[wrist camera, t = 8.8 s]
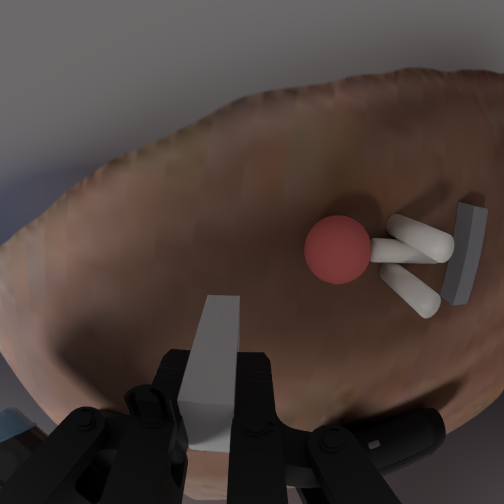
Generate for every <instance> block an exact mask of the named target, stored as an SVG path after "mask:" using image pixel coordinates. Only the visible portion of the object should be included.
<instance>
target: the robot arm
mask: <svg viewBox="0 0 504 504" xmlns="http://www.w3.org/2000/svg"><path fill="white" fill-rule="evenodd" d="M239 327H240V296H226V295H207V299H206V302H205V305H204V308H203V312H202V315H201V318H200V322H199V325H198V328H197V332H196V335H195V339H194V342H193V345H192V349H191V350H179V349H171V350H170V351H169V352H167V353H166V354H165V355H164V356H163V358H162V360H161V363H160V365H159V368H158V370H157V373H156V375H155V378H154V380H153V383H152V385H140V386H136V387H134V388H132V389H130V390H129V391H128V392H127V393H126V394H125V396H124V399H125V402H126V404H127V407H128V409H129V411H130V414H131V415H128V416H125V415H122V414H119V413H115V412H111V411H99V410H98V409H96V408H93V407H80V408H77V409H75V410H74V411H72V412H71V413H70V414H69V415H68V416H67V417H66V418H65V419H64V420H63V421H62V422H61V423H60V424H59V425H58V426H57V427H56V428H55V430H54V431H53V432H52V433H51V434H50V435H48V434H46V433H45V432H44V431H43V430H41V429H40V428H39V427H38V426H37V424H36V423H35V422H32V421H31V420H30V419H29V418H28V417H27V416H25V415H24V414H23V413H22V412H21V411H20V410H19V409H17V408H15V407H7V408H5V409H3V410H2V411H1V412H0V504H182V498H183V491H184V485H185V478H186V472H187V466H188V458H187V455H186V452H187V446H188V444H189V448H190V449H192V450H202V451H214V452H229V468H228V488H227V504H288V497H287V487H286V485H288V486H294V487H295V488H296V490H297V492H298V494H299V496H300V499H301V501H302V503H303V504H402V503H401V502H400V501H399V499H398V498H397V497H396V495H395V494H394V492H393V491H392V490H391V488H390V487H389V485H388V484H387V483H386V481H385V480H384V478H383V477H382V475H381V474H380V473H379V471H378V470H377V468H376V467H375V465H374V464H373V463H372V461H371V460H370V458H369V457H368V455H367V454H366V453H365V451H364V450H363V448H362V447H361V445H360V444H359V442H358V441H357V440H356V438H355V437H354V435H353V434H352V433H351V432H350V431H349V430H348V429H346V428H344V427H342V426H339V425H324V426H321V427H319V428H317V429H315V430H314V431H313V432H308V431H302V430H297V429H294V428H290V427H289V426H287V425H285V424H284V423H282V422H281V421H280V420H279V418H278V416H277V414H276V410H275V401H274V391H273V382H272V373H271V363H270V360H269V359H268V357H267V356H266V355H265V353H264V352H239Z"/></svg>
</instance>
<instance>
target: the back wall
mask: <svg viewBox="0 0 504 504" xmlns="http://www.w3.org/2000/svg"><path fill="white" fill-rule="evenodd" d="M487 215H488V209H486V208H483V207H479V206H475V205H471V204H467V203H462V202H458V207H457V215H456V222H455V229H454V235H453V240H454V251H453V254H452V256H451V257H450V258H449V261H448V265H447V270H446V274H445V278H444V282H443V286H442V289H441V293H440V296H441V297H442V298H443V299H445V300H446V301H447V302H448V303H450V304H451V305H452V306H456V305H463V304H467V303H468V300H469V297H470V294H471V290H472V287H473V283H474V280H475V276H476V272H477V268H478V264H479V260H480V255H481V250H482V245H483V240H484V234H485V228H486V222H487Z"/></svg>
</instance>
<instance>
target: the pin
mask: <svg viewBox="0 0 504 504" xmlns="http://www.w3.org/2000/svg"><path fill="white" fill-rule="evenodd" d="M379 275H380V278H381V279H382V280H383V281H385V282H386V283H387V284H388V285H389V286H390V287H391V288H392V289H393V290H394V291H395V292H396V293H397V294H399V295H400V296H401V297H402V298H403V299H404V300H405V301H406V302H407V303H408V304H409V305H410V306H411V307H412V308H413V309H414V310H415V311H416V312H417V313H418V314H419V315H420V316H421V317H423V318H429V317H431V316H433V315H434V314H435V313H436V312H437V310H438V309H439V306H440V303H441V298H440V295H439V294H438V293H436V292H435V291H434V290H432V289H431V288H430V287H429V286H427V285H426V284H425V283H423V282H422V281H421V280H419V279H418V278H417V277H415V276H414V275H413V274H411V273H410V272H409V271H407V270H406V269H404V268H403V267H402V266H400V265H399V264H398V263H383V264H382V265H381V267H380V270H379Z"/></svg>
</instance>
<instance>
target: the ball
mask: <svg viewBox="0 0 504 504" xmlns="http://www.w3.org/2000/svg"><path fill="white" fill-rule="evenodd" d="M371 251H372V250H371V241H370V238H369V236H368V233H367V232H366V230H365V229H364V227H363V226H362V225H361V224H360V223H359V222H357V221H356V220H354V219H352V218H350V217H347V216H342V215H333V216H329V217H326V218H323V219H321V220H320V221H318V222H317V223H316V224H315V225H314V226H313V227H312V228H311V229H310V231H309V233H308V235H307V237H306V240H305V245H304V254H305V259H306V262H307V265H308V267H309V268H310V270H311V271H312V272H313V273H314V275H316V276H317V277H318V278H319V279H321V280H323V281H325V282H327V283H331V284H344V283H348V282H351V281H353V280H355V279H356V278H358V277H359V276H360V275H361V274H362V273H363V272H364V271H365V269H366V268H367V266H368V264H369V261H370V258H371Z"/></svg>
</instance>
